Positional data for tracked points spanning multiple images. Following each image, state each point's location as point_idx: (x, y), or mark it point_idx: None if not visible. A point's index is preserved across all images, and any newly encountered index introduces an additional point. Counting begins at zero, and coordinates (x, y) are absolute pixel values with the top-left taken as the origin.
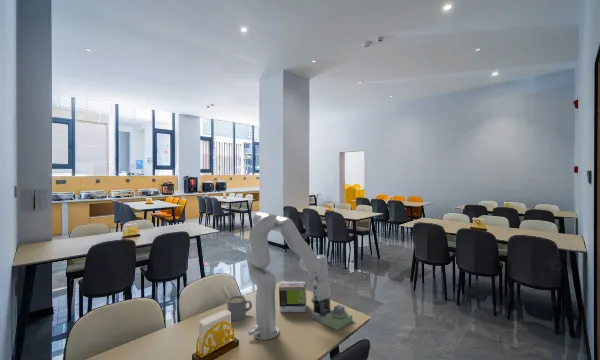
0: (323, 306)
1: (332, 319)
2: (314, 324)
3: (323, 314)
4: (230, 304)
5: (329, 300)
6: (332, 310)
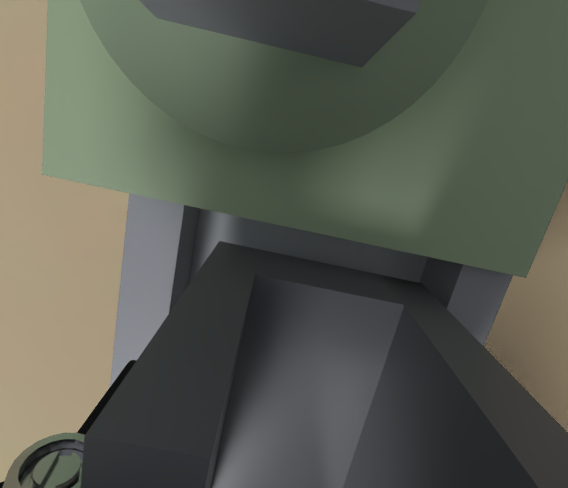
0: (504, 395)
1: (541, 17)
2: (553, 305)
3: (417, 290)
4: None
5: (150, 415)
6: (142, 235)
